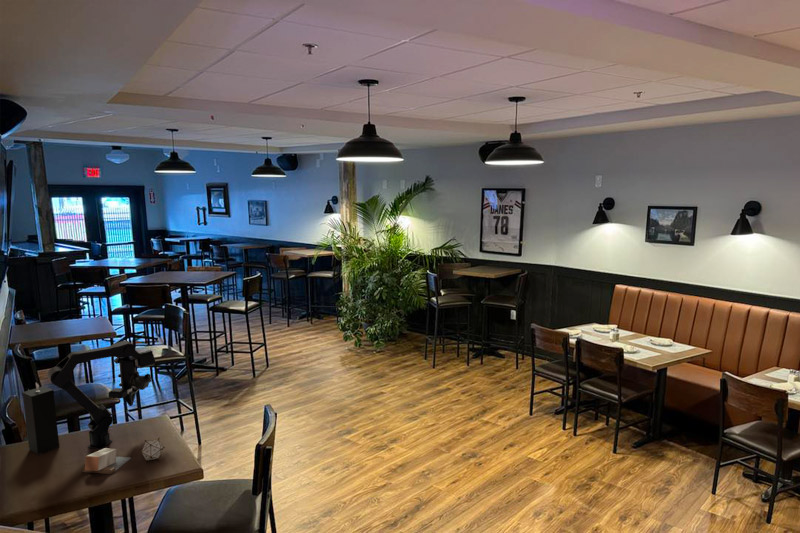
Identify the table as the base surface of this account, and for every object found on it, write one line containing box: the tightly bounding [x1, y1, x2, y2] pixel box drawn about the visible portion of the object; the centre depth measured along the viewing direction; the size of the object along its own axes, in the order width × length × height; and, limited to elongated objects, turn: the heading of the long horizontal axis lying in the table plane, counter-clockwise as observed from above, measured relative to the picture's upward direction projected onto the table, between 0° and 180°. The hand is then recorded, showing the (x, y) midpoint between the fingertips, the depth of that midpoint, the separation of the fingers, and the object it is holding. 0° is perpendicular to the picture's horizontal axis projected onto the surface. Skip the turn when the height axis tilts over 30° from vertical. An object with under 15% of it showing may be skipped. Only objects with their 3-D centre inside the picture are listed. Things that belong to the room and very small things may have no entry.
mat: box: [107, 456, 132, 472], centre depth 193 cm, size 12×9×1 cm
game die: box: [139, 437, 166, 463], centre depth 195 cm, size 9×8×10 cm
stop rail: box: [81, 465, 116, 475], centre depth 187 cm, size 12×2×2 cm, turn 83°
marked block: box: [84, 447, 118, 471], centre depth 189 cm, size 5×5×10 cm
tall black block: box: [21, 382, 60, 456], centre depth 202 cm, size 8×8×28 cm
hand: (130, 405), depth 214 cm, fingers closed
